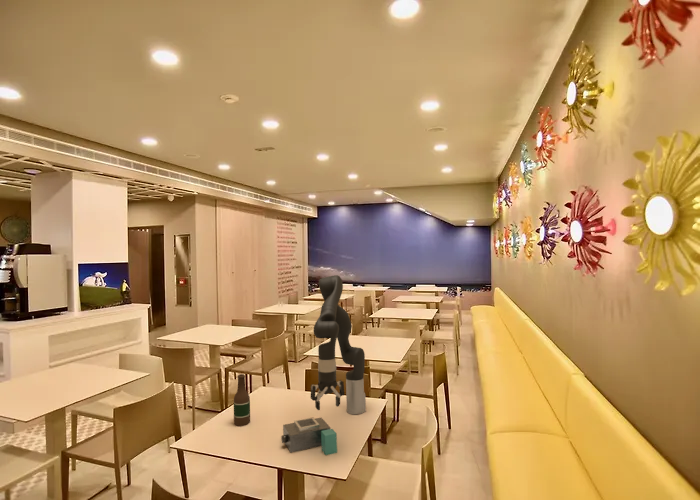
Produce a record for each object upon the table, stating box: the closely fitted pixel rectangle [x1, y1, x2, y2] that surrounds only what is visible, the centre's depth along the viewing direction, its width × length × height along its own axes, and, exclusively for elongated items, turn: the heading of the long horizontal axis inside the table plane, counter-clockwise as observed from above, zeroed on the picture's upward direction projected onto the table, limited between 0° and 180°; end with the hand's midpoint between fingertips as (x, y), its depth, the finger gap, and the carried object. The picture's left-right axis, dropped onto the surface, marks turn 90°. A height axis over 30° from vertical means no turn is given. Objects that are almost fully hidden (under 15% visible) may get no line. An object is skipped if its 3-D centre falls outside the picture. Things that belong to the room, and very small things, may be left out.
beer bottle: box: [233, 373, 251, 427], centre depth 194 cm, size 8×8×24 cm
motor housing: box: [280, 417, 332, 454], centre depth 173 cm, size 20×12×8 cm, turn 114°
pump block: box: [321, 428, 338, 456], centre depth 164 cm, size 5×5×8 cm
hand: (327, 407), depth 165 cm, fingers open, 8 cm apart
